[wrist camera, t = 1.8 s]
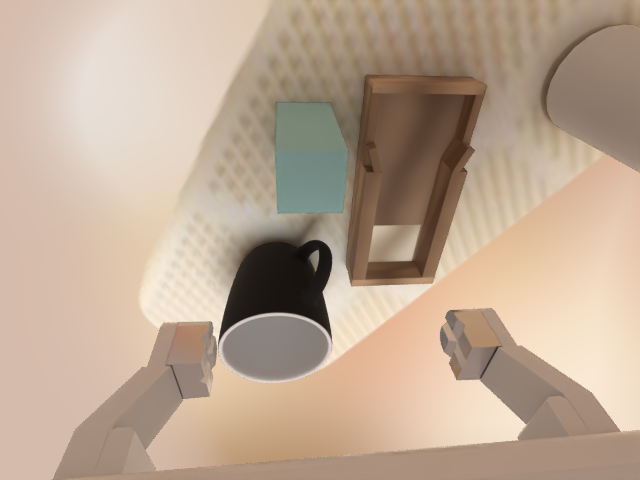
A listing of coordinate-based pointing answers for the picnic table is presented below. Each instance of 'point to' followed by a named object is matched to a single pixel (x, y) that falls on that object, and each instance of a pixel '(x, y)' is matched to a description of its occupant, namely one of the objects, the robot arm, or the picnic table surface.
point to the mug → (277, 314)
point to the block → (309, 159)
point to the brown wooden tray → (409, 175)
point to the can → (601, 93)
